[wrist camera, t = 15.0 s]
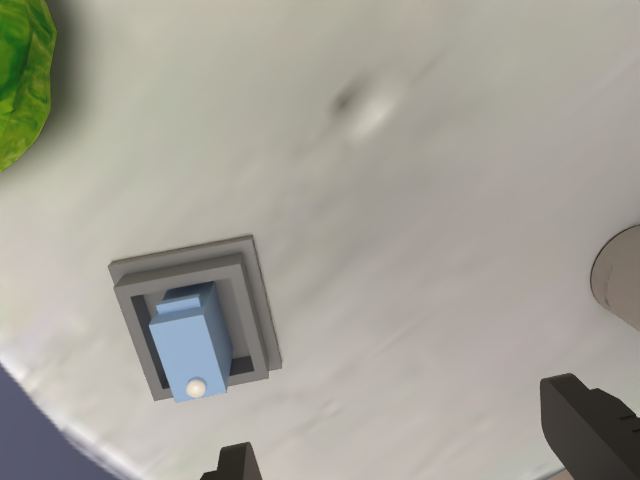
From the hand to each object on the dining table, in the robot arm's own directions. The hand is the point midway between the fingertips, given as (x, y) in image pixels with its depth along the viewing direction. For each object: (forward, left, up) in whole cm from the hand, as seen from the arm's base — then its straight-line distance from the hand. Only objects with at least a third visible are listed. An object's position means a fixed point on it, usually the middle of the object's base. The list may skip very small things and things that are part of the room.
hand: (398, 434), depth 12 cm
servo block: (+12, +9, -26) cm, 30 cm away
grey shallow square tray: (+12, +9, -27) cm, 31 cm away
